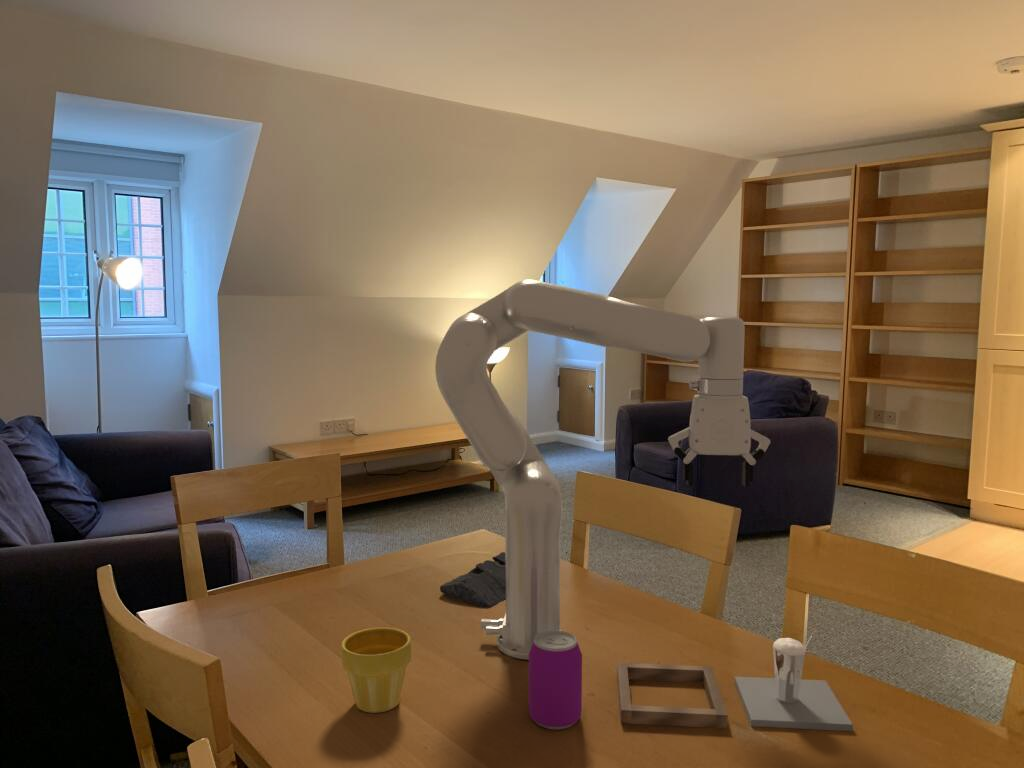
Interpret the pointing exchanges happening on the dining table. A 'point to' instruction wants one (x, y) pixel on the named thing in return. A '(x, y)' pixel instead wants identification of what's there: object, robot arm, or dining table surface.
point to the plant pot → (376, 666)
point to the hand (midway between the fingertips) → (717, 485)
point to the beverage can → (555, 680)
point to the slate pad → (792, 705)
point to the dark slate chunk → (481, 583)
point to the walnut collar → (671, 715)
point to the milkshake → (788, 668)
